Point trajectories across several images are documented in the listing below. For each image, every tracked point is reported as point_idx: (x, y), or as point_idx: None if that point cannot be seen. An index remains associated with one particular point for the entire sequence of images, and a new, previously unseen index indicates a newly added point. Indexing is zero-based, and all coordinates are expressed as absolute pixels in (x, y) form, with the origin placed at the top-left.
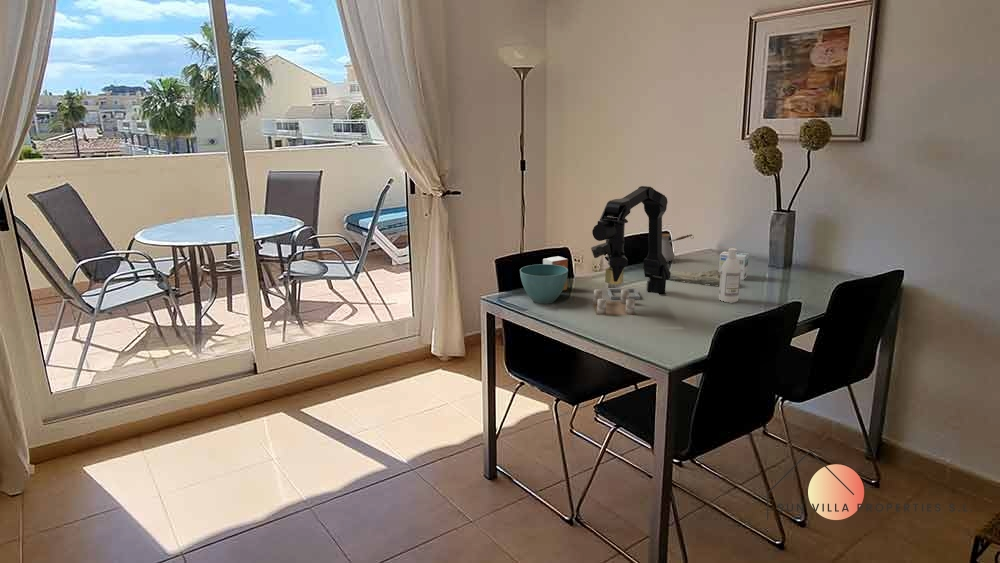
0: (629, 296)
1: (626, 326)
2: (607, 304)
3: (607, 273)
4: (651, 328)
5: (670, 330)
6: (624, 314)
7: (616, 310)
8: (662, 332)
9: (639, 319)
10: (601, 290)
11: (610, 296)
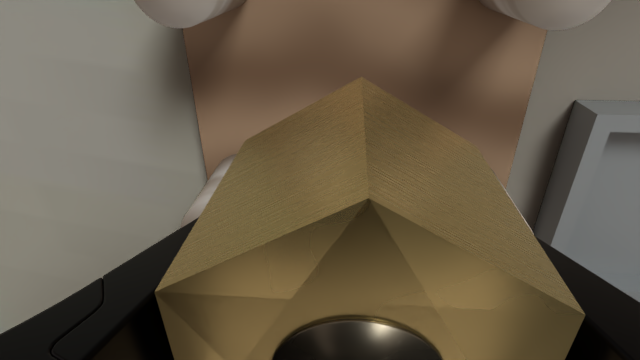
0: (551, 241)
1: (31, 117)
2: (452, 57)
3: (299, 172)
4: (47, 232)
5: (50, 295)
6: (210, 142)
7: (295, 104)
8: (9, 262)
9: (178, 207)
10: (545, 20)
11: (627, 111)
